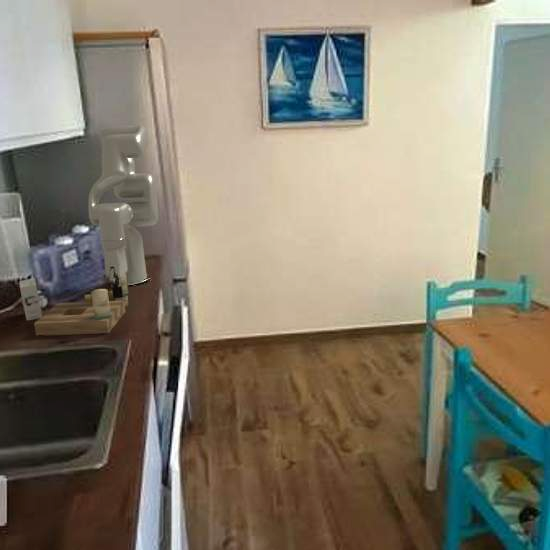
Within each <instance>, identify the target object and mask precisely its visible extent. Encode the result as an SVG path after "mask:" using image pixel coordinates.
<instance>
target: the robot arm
mask: <svg viewBox="0 0 550 550" xmlns="http://www.w3.org/2000/svg"><path fill="white" fill-rule="evenodd" d="M99 135H100V141H101V176H100V177H99V178H98V179H97V180H96V182H95V183H94V184H93V186H92V187H91V189H90V191H89V194H88V218H89V221H90V223H91V224H92V225H94V226H97V227H99V228H100V229H99V231H100V237H101V245H102V250H103V251H104V255H103V257H104V269H105V278H106V279H107V280H109V282H110V284H111V289H112V290H111V291H113V297H114V298H122V297H123V292H122V286H121V282H120V278H121V277H122V276H123V273H124V272H125V273H126V281H127V288H128V289H129V285H133V286H135V285H134V284H138V283H141V282H144V281H146V280H148V279H150V278H148V279H146V278H147V275H148V274H147V268H146V267H147V266H146V260H145V251H144V242H143V237H142V234H141V233H140V232H139V231H138V230H137V229H136V228H137V227H151V226H154V225H156V224H157V223H158V221H159V209H158V207H159V205H158V196H157V195H158V193H157V185H156V184H157V183H156V180H155V177H154V176H153V175H152V174H150V173H144V172H143V173H136V167H135V166H136V164H135V163H136V162H135V160H134V159H138V158H142V157H143V156H144V155H145V152H146V149H147V146H148V143H149V134H148V130H147V129H146V128H145V126H143V125H139V124H138V125H114V126H107V127H104V128H102V129H101V130H100V133H99ZM112 188H113V193H114V195H115V197H116V199H120V200H137V199H143V200H144V201H125V202H110V203H109V202H106V203H100V199H101V197H102V196H103V194H105V193H106V192H107V191H109V190H111V189H112ZM115 276H118V278H115ZM144 279H145V280H144ZM115 280H118V282H117V281H115Z"/></svg>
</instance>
